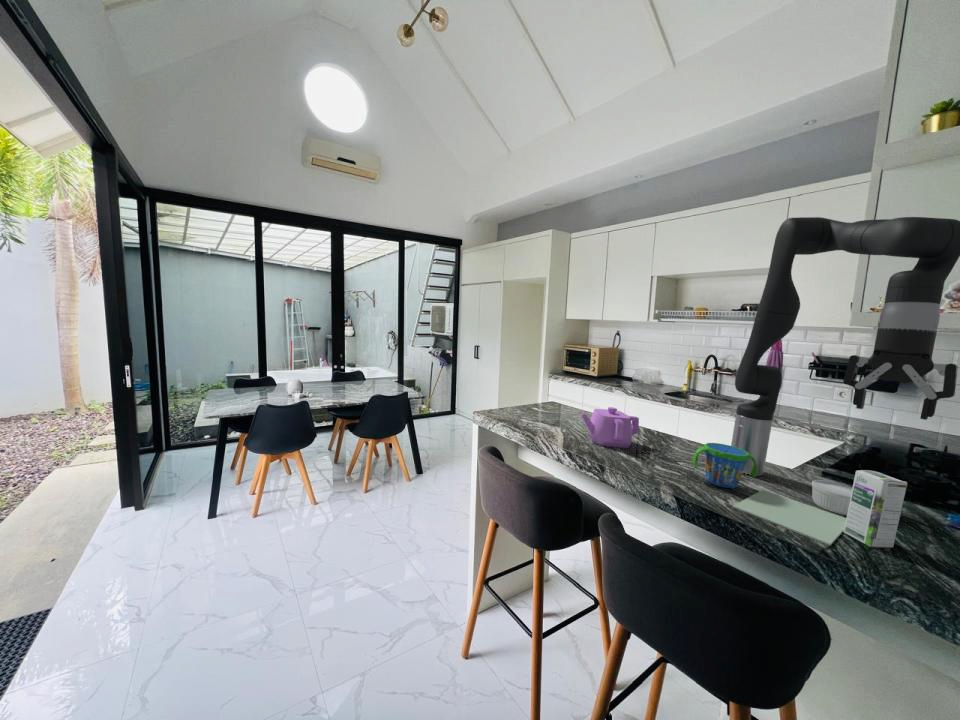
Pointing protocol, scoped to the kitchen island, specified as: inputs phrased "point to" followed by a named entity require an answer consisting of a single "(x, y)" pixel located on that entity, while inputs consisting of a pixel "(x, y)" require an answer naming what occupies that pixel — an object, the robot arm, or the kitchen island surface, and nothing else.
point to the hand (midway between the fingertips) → (890, 413)
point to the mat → (794, 516)
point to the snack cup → (724, 464)
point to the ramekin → (831, 496)
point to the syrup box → (875, 508)
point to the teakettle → (611, 427)
